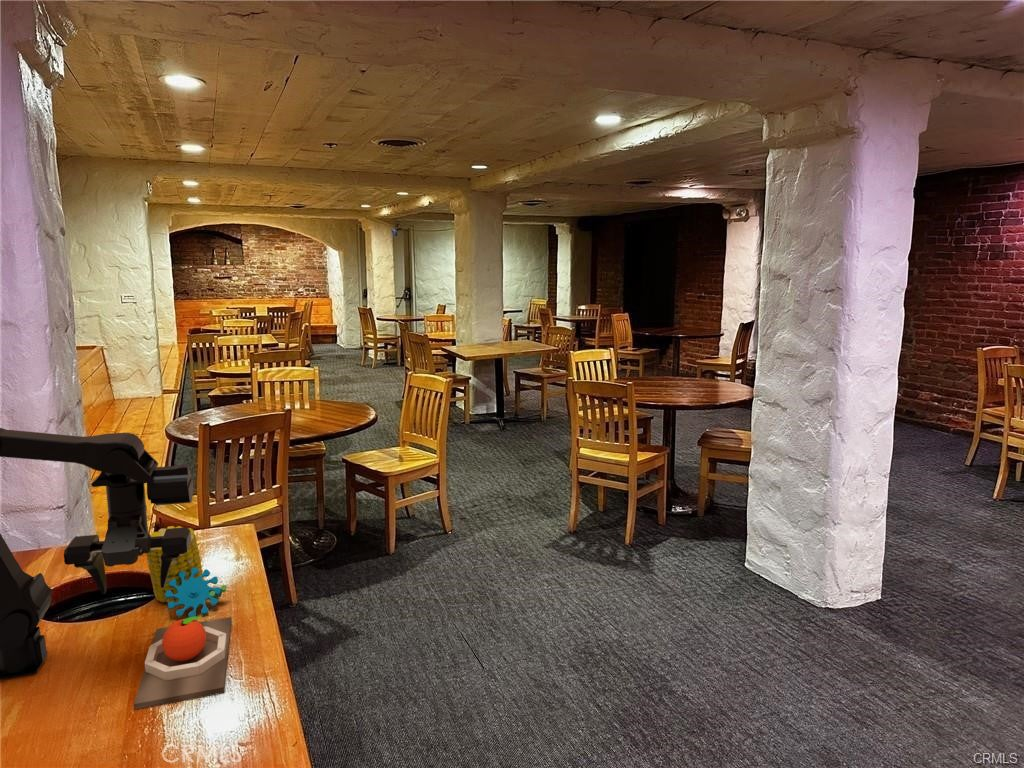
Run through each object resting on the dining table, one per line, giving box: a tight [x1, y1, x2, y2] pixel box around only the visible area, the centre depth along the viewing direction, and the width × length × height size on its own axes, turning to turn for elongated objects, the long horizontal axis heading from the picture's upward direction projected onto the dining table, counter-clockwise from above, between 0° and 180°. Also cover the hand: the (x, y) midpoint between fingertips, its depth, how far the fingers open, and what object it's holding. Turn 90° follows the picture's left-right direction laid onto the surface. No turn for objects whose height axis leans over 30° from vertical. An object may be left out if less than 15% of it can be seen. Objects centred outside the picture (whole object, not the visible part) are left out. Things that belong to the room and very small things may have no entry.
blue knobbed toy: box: [165, 568, 228, 618], centre depth 134 cm, size 11×6×10 cm
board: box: [133, 616, 233, 711], centre depth 117 cm, size 13×22×1 cm, turn 19°
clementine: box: [162, 616, 208, 661], centre depth 116 cm, size 8×7×7 cm
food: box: [145, 525, 205, 603], centre depth 137 cm, size 15×12×10 cm
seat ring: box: [144, 626, 227, 680], centre depth 117 cm, size 12×12×2 cm
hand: (133, 589), depth 118 cm, fingers open, 9 cm apart
